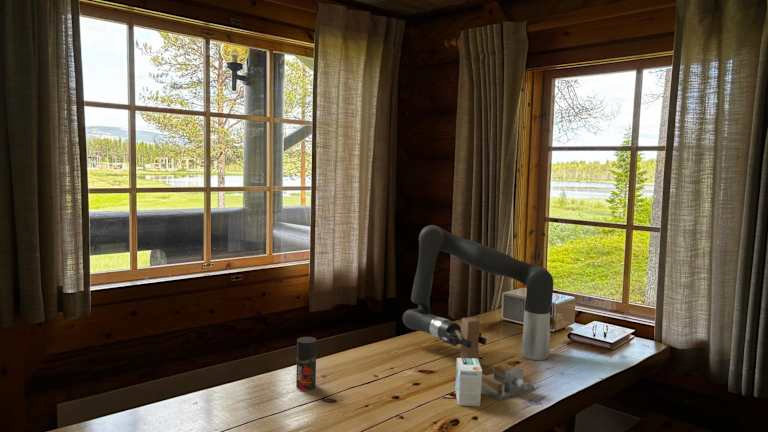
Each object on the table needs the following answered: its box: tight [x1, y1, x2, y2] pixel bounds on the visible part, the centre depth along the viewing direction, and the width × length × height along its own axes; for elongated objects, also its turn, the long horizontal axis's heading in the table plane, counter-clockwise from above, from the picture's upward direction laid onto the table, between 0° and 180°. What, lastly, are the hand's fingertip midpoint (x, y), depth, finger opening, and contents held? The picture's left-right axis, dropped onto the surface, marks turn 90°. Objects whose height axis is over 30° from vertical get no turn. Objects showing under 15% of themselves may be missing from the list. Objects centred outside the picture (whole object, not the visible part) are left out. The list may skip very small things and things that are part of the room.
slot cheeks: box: [481, 365, 525, 393], centre depth 176 cm, size 12×11×2 cm
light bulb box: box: [454, 357, 482, 407], centre depth 166 cm, size 11×7×11 cm, turn 178°
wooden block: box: [459, 316, 486, 375], centre depth 186 cm, size 9×4×18 cm, turn 21°
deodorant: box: [295, 336, 318, 392], centre depth 170 cm, size 6×6×15 cm
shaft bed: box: [481, 368, 535, 401], centre depth 175 cm, size 16×16×7 cm
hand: (478, 343), depth 183 cm, fingers open, 6 cm apart
